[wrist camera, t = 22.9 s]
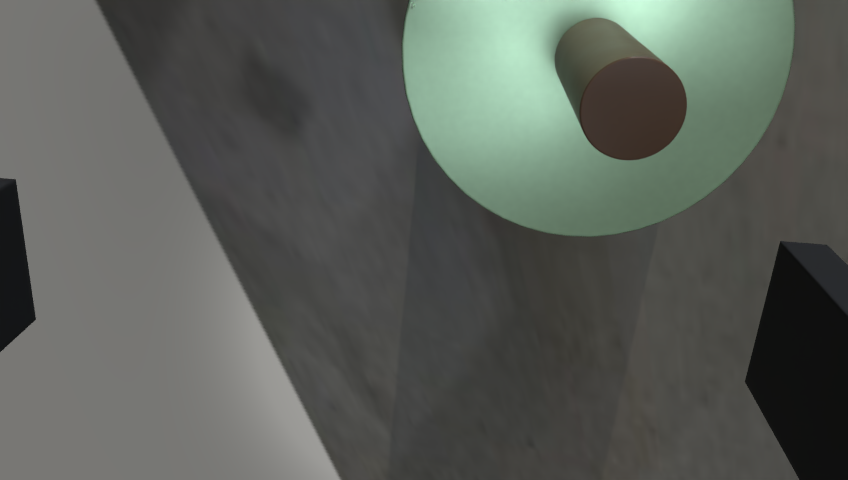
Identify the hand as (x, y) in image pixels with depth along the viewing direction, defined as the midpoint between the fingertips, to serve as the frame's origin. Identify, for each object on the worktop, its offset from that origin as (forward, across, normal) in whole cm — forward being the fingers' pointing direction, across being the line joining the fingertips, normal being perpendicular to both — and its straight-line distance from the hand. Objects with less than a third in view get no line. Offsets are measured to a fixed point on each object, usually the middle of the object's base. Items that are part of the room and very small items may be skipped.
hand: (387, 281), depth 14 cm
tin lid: (+17, +6, +1) cm, 18 cm away
